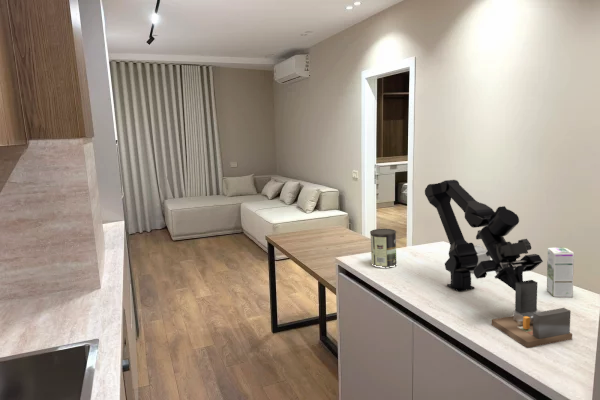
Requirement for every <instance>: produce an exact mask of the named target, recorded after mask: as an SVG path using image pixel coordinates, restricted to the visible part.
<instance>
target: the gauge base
mask: <svg viewBox="0 0 600 400" xmlns="http://www.w3.org/2000/svg"><path fill="white" fill-rule="evenodd" d="M571 313H572V312H571V310H569V309H567V308H565V307H560V308H555V309H549V310H543V311H540V312H536V313H533V324H530V329H524V328H523V325H519V324H517V321H516V320H514V319H513V315H509V316H505V317H498V318H493V319H491V325H492V326H493V327H494V328H496V329H498V330H499V331H501V332H502V333H503V334H505V335H507V336H508V337H510V338H511V339H513V340H514V341H516V342H518V343H519V344H520V345H522V346H524V347H525V348H526V349H529V348H533V347H534V348H535V347H538V346H540V347H541V346H544V345H549V344H555V343H560V342H566V341H570V340H573V333H572V332H570V331H571Z"/></svg>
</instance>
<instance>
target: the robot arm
mask: <svg viewBox="0 0 600 400" xmlns="http://www.w3.org/2000/svg"><path fill="white" fill-rule="evenodd" d="M424 195H425V197H426V199H427V200H428V203H429V204H430V205H432V206H433V207H434V208H435V209H436V211H437V212H438V213H437V214H438V216H439V218H440V221H441V225H442V226H443V229H444V231H445V234H446V238H447V239H448V242H449V245H450V246H449V250H448V259H447V260H446V261H445V262H444V267H445V270H446V271H448V272H449V273H450V283H447V284H446V287H448V288H450V289H452V290H454V291H456V292H458V293H459V292H465V291H466V292H467V291H469V290H474V289H475V286H473V285H472V273H471V272H470V271H473V270H474V274H473V275H474V277H475V279H477V280H478V279H483V278H486V276H487V275H488V273H490V272H495V274H496V275H495V276H494V279H496V280H497V279H498V280H500V281H501V282H502V283H504V284H506V285H507V286H508V287H510V288H511V289H512V290H513V291H515V292H516V282H521V281H524V280H523V279H524V278H523V273H524V272H531V271H534V270H535V269H536V268H537V267H538V266H540V265H541V263H543V262H544V261H543V259H542V257H541V256H540V255H539V254H536V253H532V254H529V252H528V251H530V250H532V244H531V242H530V241H529V240H528V238H522V239H519V240H518V241H517V242H513V243H512V242H511V241H506V239H505V236H507V235H509V234H510V232H511V231H512V230H514V229H515V227H516V226H518V224H519V222H520V216H519V215H518V214H517V213H515V212H514V211H513V210H510V209H508V208H507V207H506V206H505V205H503V206H498V207H497V208H496V210H495V211H494V209H493V208H492V207H490V206H489V205H487V204H486V203H482V202H480V201H478V200H477V199H475V198H474V197H473V196H472V195H471V194H470V193H469V192H468V191H467V190H465V188H463V187H462V185H460V183H459V181H458V180H457V179H448V180H443V181H441V182H438V183H429V184H428V185H427V186H426V187H425V188H424ZM452 201H454V203H455V204H456V205H457V206H458V207H459V208H460V209H461V211H463V212H464V219H465V221H466V222H467V223H468V225H469V226H470V227H471V228H481V227H482V228H481V229H479V230H477V233H476V236H475V239H476V240H481V241H482V243H483V245H484V247H485V249H487V252H486V255H487V256H490V257H491V260H487V261H481V262H480V263H479V264H478V265H477V263H478V256H477V254H478V253H477V252H476V250H475V247H474V246H475V245H474V243H473V242H468V241H467V240H465V237H464V235H463V232H462V229H461V227H460V224H459V222H458V220H457V217H456V216H455V215H456V214H455V212H454V210H453V207H452V205H451V202H452ZM523 254H524V256H523V257H521V255H523ZM520 257H521V259H519V258H520ZM517 259H519V260H517Z"/></svg>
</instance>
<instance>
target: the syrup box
mask: <svg viewBox="0 0 600 400" xmlns="http://www.w3.org/2000/svg"><path fill="white" fill-rule="evenodd" d="M574 258H575V253H574V251H572V250H570V249H568V248H567V247H563V246H562V247H561V246H560V247H559V246H556V247H548V248H547V259H546V260H547V266H546V267H547V268H546V269H547V270H546V291H547V292H548V293H549V294H550V295H551V296H552V297H554V298H573V296H574V271H575V270H574V262H575V259H574Z"/></svg>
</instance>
